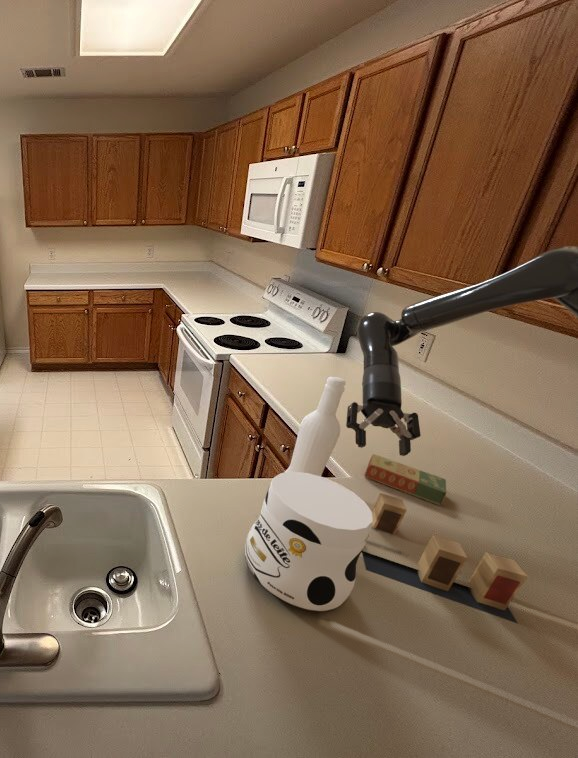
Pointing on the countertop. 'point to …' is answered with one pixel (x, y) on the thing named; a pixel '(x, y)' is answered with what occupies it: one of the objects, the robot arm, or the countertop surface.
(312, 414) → the bottle
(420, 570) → the brown panel wooden block
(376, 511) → the tan wooden block
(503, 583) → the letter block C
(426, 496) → the carton
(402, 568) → the word mat
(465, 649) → the countertop surface
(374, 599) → the countertop surface
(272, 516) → the milk container
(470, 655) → the countertop surface
